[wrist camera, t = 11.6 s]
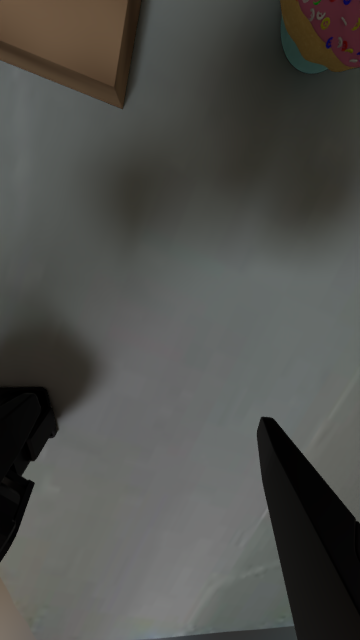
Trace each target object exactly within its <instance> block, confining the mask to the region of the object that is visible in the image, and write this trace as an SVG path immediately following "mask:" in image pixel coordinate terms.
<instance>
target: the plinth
mask: <svg viewBox="0 0 360 640" xmlns="http://www.w3.org/2000/svg"><path fill="white" fill-rule="evenodd" d="M141 1H142V0H0V60H2V61H4V62H7V63H9V64H12V65H14V66H17V67H19V68H22V69H24V70H26V71H29V72H31V73H34V74H36V75H39V76H41V77H44V78H46V79H49V80H51V81H54V82H56V83H59V84H61V85H64V86H66V87H69V88H71V89H74V90H76V91H79V92H81V93H84V94H86V95H89V96H91V97H94V98H96V99H99V100H101V101H104V102H106V103H109V104H111V105H114V106H116V107H119V108H121V109H123V104H124V98H125V92H126V87H127V81H128V75H129V69H130V64H131V58H132V52H133V46H134V41H135V35H136V29H137V24H138V18H139V12H140V6H141Z"/></svg>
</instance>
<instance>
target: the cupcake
mask: <svg viewBox="0 0 360 640" xmlns="http://www.w3.org/2000/svg"><path fill="white" fill-rule="evenodd" d="M280 3H281V11H282V18H281V41H282V46H283V50H284V52H285V55H286V57H287V59H288V60H289V62H290V63H291V64H292V65H293V66H294V67H295V68H296V69H298V70H299V71H301V72H304V73H309V74H314V73H319V72H323V71H325V70H327V69H329V70H331V71H333V72H341V71H345V70H349V69H353V68H359V67H360V0H280Z"/></svg>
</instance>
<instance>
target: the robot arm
mask: <svg viewBox="0 0 360 640" xmlns="http://www.w3.org/2000/svg"><path fill="white" fill-rule="evenodd" d="M40 392H41V393H40ZM56 433H57V430H56V423H55V418H54V414H53V410H52V407H51V405H50V401H49V397H48V392H47V390H46V389H45V388H42V387H20V388H0V562H1V560H2V559H3V557H4V556H5V554H6V553H7V551H8V549H9V548H10V546H11V544H12V542H13V540H14V539H15V537H16V534H17V532H18V529H19V527H20V524H21V521H22V518H23V515H24V512H25V509H26V507H27V504H28V501H29V498H30V495H31V492H32V489H33V487H34V484H35V483H34V482H32V481H31V480H27V479H25V478H24V477H22V474H23V473H24V471H25V469H26V468H27V466H28V464H29V463H30V461H35V460H36V459H37V457H38V456H39V454H40V452H41V450H42V449H43V447H44V445H45V444H46V442H47V440H48V438H54V437H55V435H56ZM257 442H258V450H259V458H260V467H261V475H262V482H263V487H264V492H265V496H266V500H267V505H268V509H269V514H270V518H271V523H272V527H273V532H274V536H275V541H276V545H277V550H278V554H279V559H280V563H281V568H282V572H283V577H284V581H285V586H286V590H287V595H288V599H289V603H290V608H291V612H292V617H293V621H294V626H295V630H296V635H297V639H298V640H360V523H359V522H358V521H356V519H355V517H354V516H353V515H352V513H351V512H350V511H349V510H348V509H347V507H346V506H345V505H344V504H343V502H342V501H341V500H340V499H339V498H338V496H337V495H336V494H335V493H334V492H333V490H332V489H331V488H330V487H329V485H328V484H327V483H326V482H325V481H324V479H323V478H322V477H321V476H320V474H319V473H318V472H317V471H316V470H315V468H314V467H313V466H312V465H311V464H310V462H309V461H308V460H307V459H306V457H305V456H304V455H303V454H302V453H301V451H300V450H299V449H298V448H297V446H296V445H295V444H294V443H293V442H292V440H291V439H290V438H289V437H288V436H287V434H286V433H285V432H284V431H283V429H282V428H281V427H280V426H279V425H278V423H277V422H276V421H275V420H274V419H273V418H271V417H261V419H260V422H259V426H258V429H257Z"/></svg>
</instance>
